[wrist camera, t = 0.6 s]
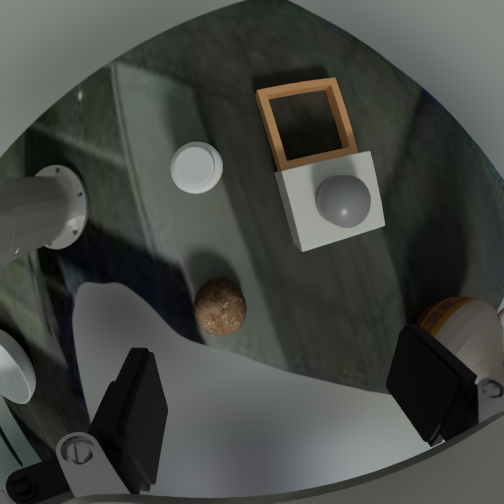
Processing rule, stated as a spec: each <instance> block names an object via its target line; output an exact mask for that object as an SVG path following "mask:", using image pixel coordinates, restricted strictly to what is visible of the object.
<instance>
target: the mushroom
mask: <svg viewBox="0 0 504 504" xmlns="http://www.w3.org/2000/svg"><path fill="white" fill-rule="evenodd" d="M246 310H247V307H246V301H245V298H244V296H243V294H242V292H241V291H240V289H239V288H238V287H237V285H236V284H235V283H234V282H232V281H230V280H227V279H225V278H217V279H211V280H210V281H208V282H207V283H205V284H204V285H203V286H202V287H201V288H200V290H199V291H198V293H197V295H196V298H195V302H194V315H195V318H196V320H197V322H198V325H199V326H200V327H201V328H203V329H204V330H205V331H206V332H208V333H210V334H214V335H217V336H223V335H230V334H233V333H234V332H235V331H236V330H238V329H239V328H240V327H241V326H242V324H243V322H244V320H245V318H246Z"/></svg>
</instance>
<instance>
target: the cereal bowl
mask: <svg viewBox="0 0 504 504" xmlns="http://www.w3.org/2000/svg"><path fill="white" fill-rule="evenodd" d="M35 385H36V378H35V372H34V369H33V366H32V364H31V361H30V359H29V358H28V356H27V354H26V353H25V351H24V350H23V349H22V347H21V346H20V345H19V343H18V342H17V341H16V340H15V339H13V337H11V336H10V335H9V334H8V333H6V332H4V331H2V330H0V393H1V394H2V395H3V396H5V397H6V398H7V399H9V400H11V401H13V402H16V403H20V404H24V403H27V402H28V401H29V400H30V398H31V397H32V395H33V392H34V390H35Z"/></svg>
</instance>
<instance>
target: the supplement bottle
mask: <svg viewBox="0 0 504 504" xmlns="http://www.w3.org/2000/svg"><path fill="white" fill-rule="evenodd" d="M170 172H171V176H172V179H173V181H174V182H175V184H176V185H177V186H178V187H179V188H180V189H182V190H183V191H186V192H189V193H203V192H206V191H208V190H210V189H212V188H213V187H215V186H216V185H217V184H218V183H219V181H220V180H221V177H222V174H223V163H222V159H221V157H220V155H219V153H218V152H217V150H216V149H215V148H214V147H212V146H211V145H209V144H207V143H204V142H191V143H188V144H185V145H183V146H182V147H181V148H179V149H178V150H177V151H176V153H175V154H174V156H173V158H172V161H171V165H170Z"/></svg>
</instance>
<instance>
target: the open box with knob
mask: <svg viewBox="0 0 504 504" xmlns="http://www.w3.org/2000/svg"><path fill="white" fill-rule="evenodd" d="M320 90H325V91H326V94H327V97H328V100H329V104H330V107H331V110H332V113H333V116H334V120H335V123H336V126H337V130H338V133H339V137H340V140H341V144H342V147H343V149H338V150H334V151H329V152H324V153H320V154H315V155H311V156H307V157H303V158H298V159H294V160H290V161H287V160H286V156H285V153H284V149H283V146H282V143H281V139H280V136H279V133H278V129H277V126H276V123H275V119H274V116H273V113H272V110H271V107H270V104H269V99H274V98H279V97H284V96H289V95H295V94H300V93H306V92H313V91H320ZM255 97H256V100H257V104H258V107H259V110H260V113H261V116H262V119H263V123H264V126H265V129H266V133H267V136H268V139H269V143H270V146H271V149H272V153H273V156H274V160H275V163H276V167H277V170H278V172H274V173H275V177H276V180H277V184H278V187H279V191H280V195H281V198H282V202H283V206H284V210H285V213H286V217H287V221H288V225H289V229H290V232H291V236H292V240H293V243H294V244H295V245H296V246H297V247H298V248H299V249H300V250H301V251H302V252H304V251H307V250H310V249H313V248H316V247H320V246H323V245H326V244H329V243H332V242H336V241H339V240H342V239H345V238H348V237H351V236H354V235H358V234H361V233H364V232H367V231H370V230H373V229H376V228H379V227H382V226H385V222H384V216H383V210H382V204H381V199H380V194H379V189H378V184H377V179H376V174H375V170H374V165H373V161H372V157H371V153H370V151H367V152H360V153H358V150H357V146H356V142H355V139H354V135H353V131H352V128H351V125H350V121H349V118H348V115H347V111H346V108H345V105H344V102H343V99H342V96H341V93H340V90H339V87H338V84H337V81H336V78H327V79H319V80H311V81H304V82H298V83H292V84H286V85H280V86H275V87H270V88H265V89H260V90H257V92H256V94H255Z"/></svg>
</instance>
